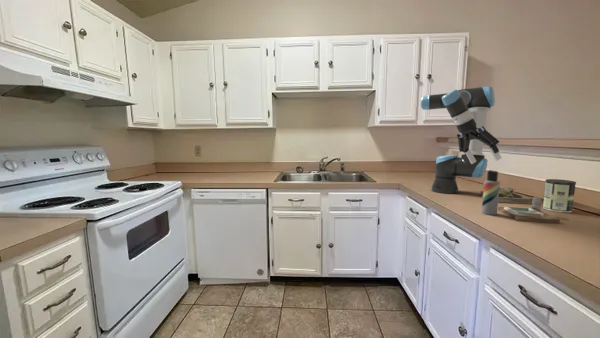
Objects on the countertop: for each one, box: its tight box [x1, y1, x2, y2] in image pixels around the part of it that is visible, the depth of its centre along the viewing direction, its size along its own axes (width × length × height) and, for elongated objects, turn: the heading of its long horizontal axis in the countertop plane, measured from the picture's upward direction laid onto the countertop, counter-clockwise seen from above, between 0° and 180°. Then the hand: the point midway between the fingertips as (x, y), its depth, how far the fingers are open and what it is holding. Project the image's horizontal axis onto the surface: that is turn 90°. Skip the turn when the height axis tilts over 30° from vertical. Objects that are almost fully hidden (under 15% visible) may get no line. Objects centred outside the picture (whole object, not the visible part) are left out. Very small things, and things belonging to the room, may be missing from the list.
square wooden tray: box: [480, 190, 533, 205], centre depth 145 cm, size 17×17×2 cm
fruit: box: [499, 187, 516, 198], centre depth 146 cm, size 9×9×8 cm
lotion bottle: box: [481, 169, 500, 216], centre depth 118 cm, size 6×6×20 cm
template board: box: [497, 197, 561, 224], centre depth 115 cm, size 16×15×8 cm
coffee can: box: [542, 178, 577, 214], centre depth 124 cm, size 10×10×14 cm
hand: (485, 161), depth 123 cm, fingers open, 13 cm apart
